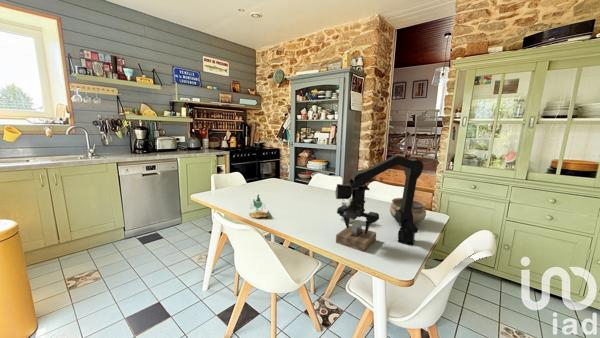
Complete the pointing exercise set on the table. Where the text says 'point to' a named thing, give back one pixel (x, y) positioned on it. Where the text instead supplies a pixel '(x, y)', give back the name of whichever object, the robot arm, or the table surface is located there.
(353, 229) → the upright grey stone slab
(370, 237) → the post block
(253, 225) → the table surface
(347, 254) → the table surface
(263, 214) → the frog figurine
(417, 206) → the cooking pot
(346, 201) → the syrup box
